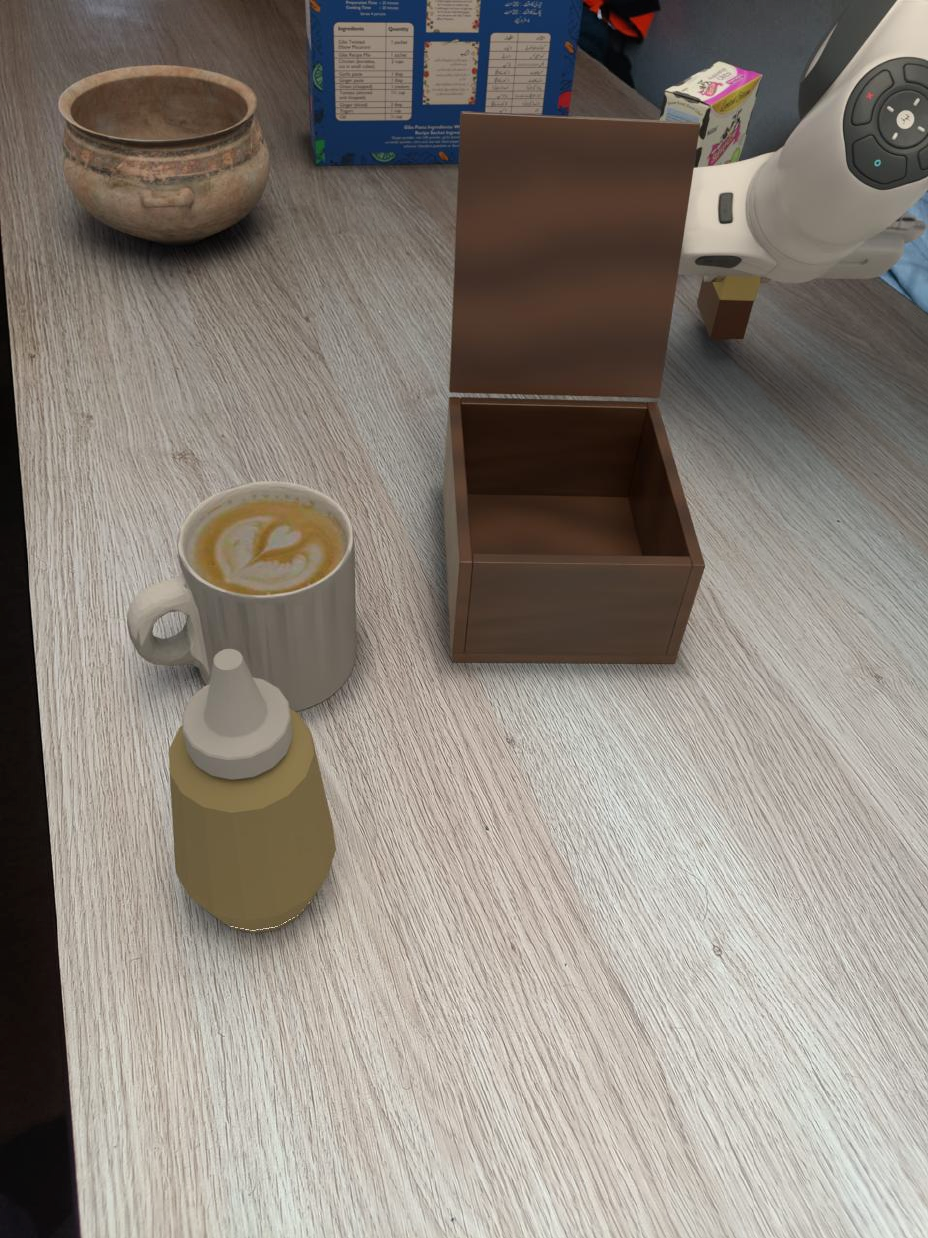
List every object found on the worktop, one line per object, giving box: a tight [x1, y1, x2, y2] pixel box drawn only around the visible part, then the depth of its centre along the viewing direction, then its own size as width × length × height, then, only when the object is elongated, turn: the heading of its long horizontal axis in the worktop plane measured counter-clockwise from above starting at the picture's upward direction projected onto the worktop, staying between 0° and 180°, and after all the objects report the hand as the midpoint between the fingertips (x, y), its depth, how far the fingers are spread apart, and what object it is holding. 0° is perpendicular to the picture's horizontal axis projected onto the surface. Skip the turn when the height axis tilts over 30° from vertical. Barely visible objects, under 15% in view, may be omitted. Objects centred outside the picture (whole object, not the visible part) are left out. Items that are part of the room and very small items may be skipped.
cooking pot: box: [57, 64, 270, 247], centre depth 101 cm, size 25×19×12 cm
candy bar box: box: [658, 61, 763, 168], centre depth 103 cm, size 11×5×16 cm, turn 144°
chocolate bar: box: [696, 275, 761, 341], centre depth 92 cm, size 3×6×10 cm, turn 3°
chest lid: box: [448, 111, 700, 399], centre depth 71 cm, size 17×15×4 cm
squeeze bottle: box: [168, 649, 337, 934], centre depth 50 cm, size 8×8×18 cm
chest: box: [442, 396, 706, 664], centre depth 71 cm, size 17×15×9 cm
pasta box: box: [304, 0, 584, 167], centre depth 112 cm, size 28×8×28 cm, turn 100°
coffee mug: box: [126, 480, 357, 713], centre depth 64 cm, size 13×10×10 cm
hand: (736, 273), depth 91 cm, fingers closed on chocolate bar, 3 cm apart
